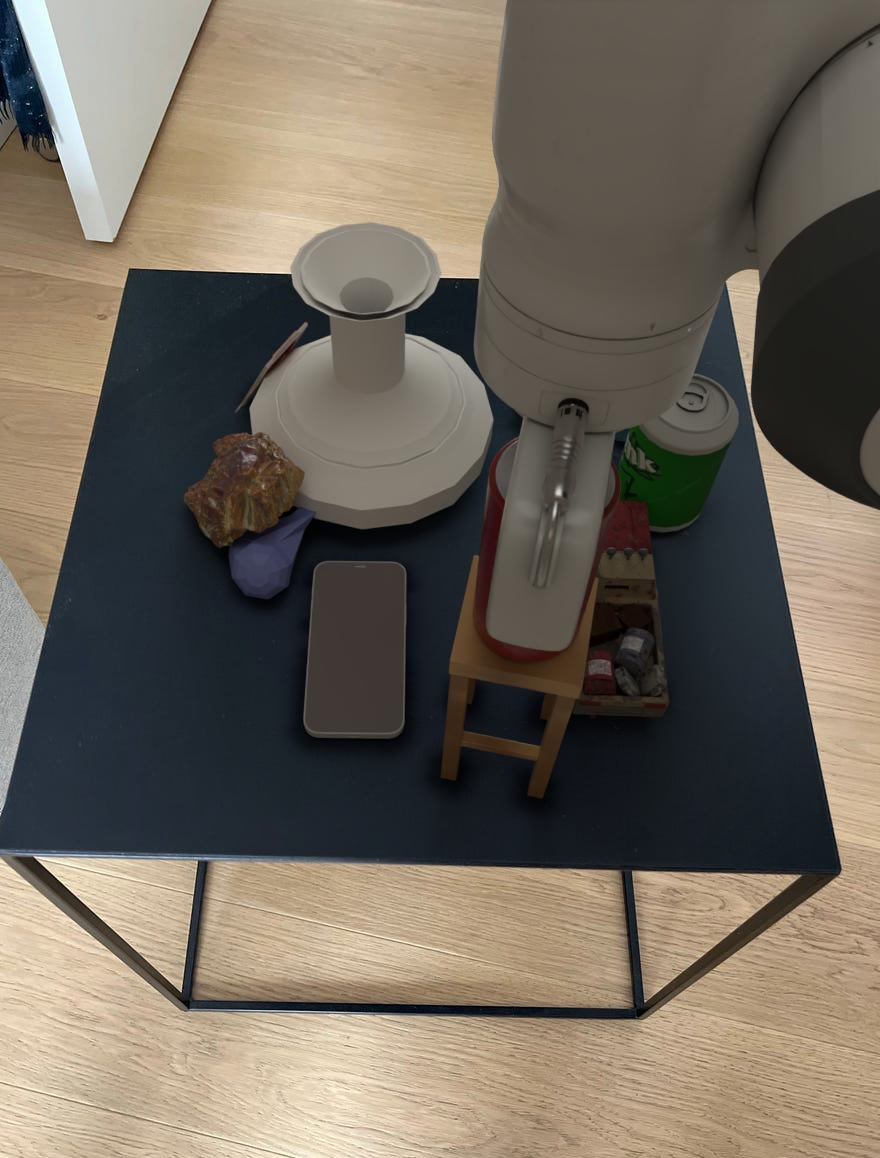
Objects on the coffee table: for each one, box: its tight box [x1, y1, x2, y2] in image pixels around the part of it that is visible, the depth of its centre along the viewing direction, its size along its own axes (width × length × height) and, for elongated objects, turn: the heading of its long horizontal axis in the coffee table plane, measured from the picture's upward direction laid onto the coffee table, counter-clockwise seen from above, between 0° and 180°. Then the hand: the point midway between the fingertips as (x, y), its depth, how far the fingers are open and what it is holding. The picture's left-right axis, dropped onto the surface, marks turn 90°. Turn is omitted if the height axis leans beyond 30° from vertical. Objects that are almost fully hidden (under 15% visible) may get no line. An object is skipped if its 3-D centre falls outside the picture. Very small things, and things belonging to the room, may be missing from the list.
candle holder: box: [249, 222, 495, 530], centre depth 77 cm, size 20×20×19 cm
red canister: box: [473, 436, 621, 662], centre depth 51 cm, size 6×6×12 cm
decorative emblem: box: [234, 321, 309, 414], centre depth 86 cm, size 10×1×10 cm
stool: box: [440, 555, 598, 799], centre depth 64 cm, size 8×8×17 cm
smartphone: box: [303, 560, 407, 740], centre depth 75 cm, size 7×1×15 cm
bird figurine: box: [228, 507, 316, 600], centre depth 77 cm, size 8×6×6 cm
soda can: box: [617, 373, 740, 533], centre depth 78 cm, size 8×8×12 cm
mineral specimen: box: [183, 431, 305, 549], centre depth 77 cm, size 12×8×7 cm, turn 39°
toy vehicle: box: [571, 501, 671, 719], centre depth 73 cm, size 7×18×8 cm, turn 178°
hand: (544, 534), depth 50 cm, fingers closed on red canister, 6 cm apart
